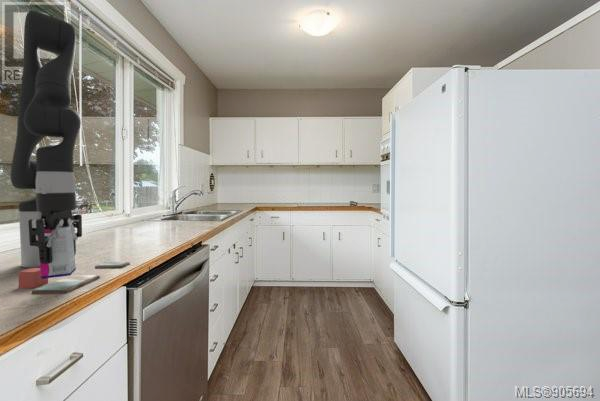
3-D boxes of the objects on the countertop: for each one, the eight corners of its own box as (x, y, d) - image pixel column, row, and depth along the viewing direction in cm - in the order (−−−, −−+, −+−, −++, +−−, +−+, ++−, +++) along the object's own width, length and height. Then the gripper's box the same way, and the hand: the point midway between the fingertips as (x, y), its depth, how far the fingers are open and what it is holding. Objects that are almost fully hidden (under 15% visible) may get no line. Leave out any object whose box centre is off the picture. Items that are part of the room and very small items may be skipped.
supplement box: (76, 269, 81) (73, 224, 80) (70, 275, 76) (67, 228, 75) (48, 272, 79) (44, 226, 78) (40, 279, 73) (36, 230, 72)
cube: (34, 271, 78) (18, 272, 78) (35, 288, 78) (18, 288, 78) (47, 267, 82) (32, 267, 82) (48, 283, 82) (32, 283, 82)
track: (66, 293, 74) (66, 289, 74) (31, 293, 74) (31, 290, 74) (129, 263, 102) (129, 261, 102) (104, 264, 102) (104, 261, 102)
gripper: (62, 191, 83) (64, 253, 84) (13, 191, 69) (17, 267, 70) (91, 190, 83) (93, 253, 84) (48, 191, 69) (51, 266, 70)
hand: (58, 259), depth 77 cm, fingers closed on supplement box, 7 cm apart
